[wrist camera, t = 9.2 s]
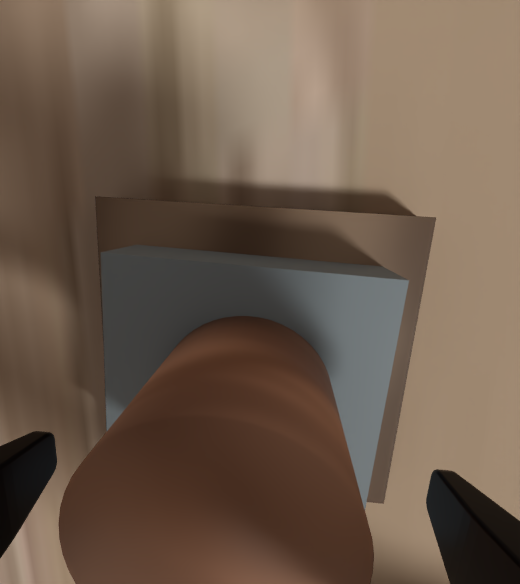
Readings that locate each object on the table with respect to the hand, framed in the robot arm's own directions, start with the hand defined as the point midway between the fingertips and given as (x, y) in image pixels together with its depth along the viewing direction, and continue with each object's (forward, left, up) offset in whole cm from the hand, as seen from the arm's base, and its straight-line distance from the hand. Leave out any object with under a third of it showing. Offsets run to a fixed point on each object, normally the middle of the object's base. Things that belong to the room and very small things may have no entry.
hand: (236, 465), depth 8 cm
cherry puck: (0, 0, -3) cm, 3 cm away
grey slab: (0, 0, -5) cm, 5 cm away
